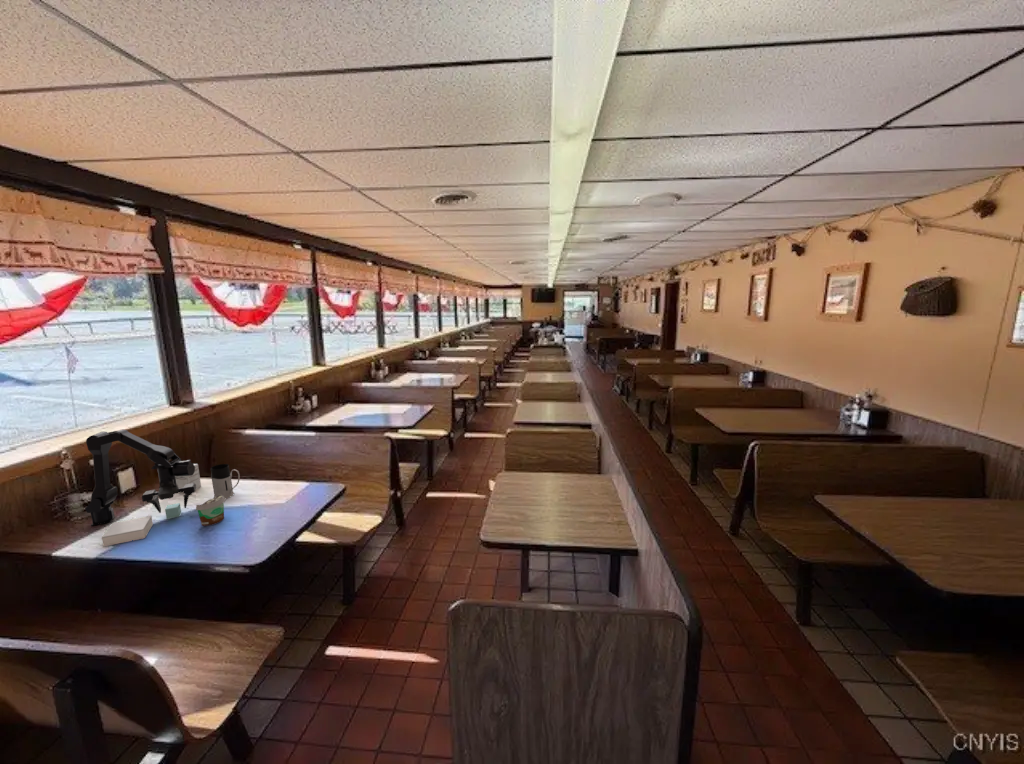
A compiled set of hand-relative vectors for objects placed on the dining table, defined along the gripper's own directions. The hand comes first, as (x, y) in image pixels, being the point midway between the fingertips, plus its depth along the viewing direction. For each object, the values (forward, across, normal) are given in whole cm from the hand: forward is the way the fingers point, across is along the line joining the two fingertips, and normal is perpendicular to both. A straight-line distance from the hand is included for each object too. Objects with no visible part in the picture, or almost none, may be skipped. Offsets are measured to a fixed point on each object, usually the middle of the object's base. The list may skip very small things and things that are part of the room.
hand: (173, 510), depth 203 cm
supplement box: (+3, +1, +32) cm, 32 cm away
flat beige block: (+3, -13, -12) cm, 18 cm away
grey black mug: (+3, +20, +12) cm, 24 cm away
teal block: (+3, 0, 0) cm, 3 cm away
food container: (+3, +18, -16) cm, 24 cm away
